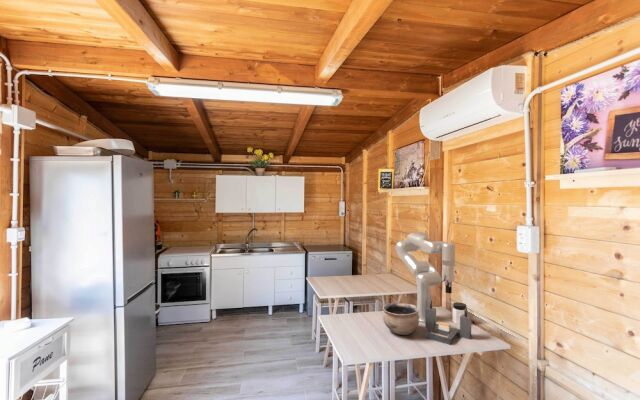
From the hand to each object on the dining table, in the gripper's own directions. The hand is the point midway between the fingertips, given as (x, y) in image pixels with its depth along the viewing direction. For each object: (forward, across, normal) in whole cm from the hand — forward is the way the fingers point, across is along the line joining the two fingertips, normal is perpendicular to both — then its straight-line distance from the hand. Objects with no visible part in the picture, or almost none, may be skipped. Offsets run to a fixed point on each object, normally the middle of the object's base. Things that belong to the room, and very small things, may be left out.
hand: (448, 292), depth 196 cm
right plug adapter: (+24, +1, +10) cm, 26 cm away
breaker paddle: (+21, +7, 0) cm, 22 cm away
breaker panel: (+24, +9, 0) cm, 26 cm away
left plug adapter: (+24, +1, -11) cm, 26 cm away
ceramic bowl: (+24, +20, -22) cm, 38 cm away
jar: (+24, -20, +1) cm, 31 cm away
